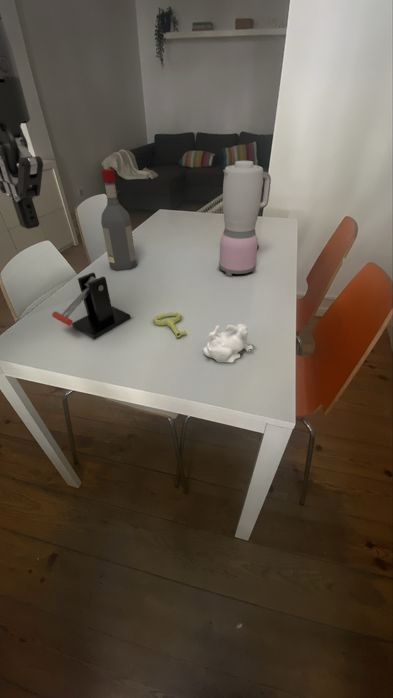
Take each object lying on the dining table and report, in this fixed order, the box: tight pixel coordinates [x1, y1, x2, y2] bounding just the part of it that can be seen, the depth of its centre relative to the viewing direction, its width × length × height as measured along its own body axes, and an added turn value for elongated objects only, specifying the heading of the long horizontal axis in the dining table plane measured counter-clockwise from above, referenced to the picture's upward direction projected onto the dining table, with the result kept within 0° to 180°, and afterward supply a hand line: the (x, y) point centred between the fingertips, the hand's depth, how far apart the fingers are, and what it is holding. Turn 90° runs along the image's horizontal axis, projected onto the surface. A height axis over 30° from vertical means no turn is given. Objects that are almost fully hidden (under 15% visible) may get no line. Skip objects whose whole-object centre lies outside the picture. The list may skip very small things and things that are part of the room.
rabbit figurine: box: [202, 323, 254, 363], centre depth 68 cm, size 12×8×10 cm, turn 94°
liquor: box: [100, 168, 138, 272], centre depth 104 cm, size 9×9×30 cm
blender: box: [218, 160, 272, 277], centre depth 99 cm, size 16×12×32 cm
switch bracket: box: [71, 271, 131, 340], centre depth 80 cm, size 12×9×13 cm
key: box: [153, 311, 187, 338], centre depth 81 cm, size 7×12×2 cm, turn 39°
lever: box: [51, 276, 98, 327], centre depth 75 cm, size 13×6×2 cm, turn 143°
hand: (30, 226), depth 47 cm, fingers closed
